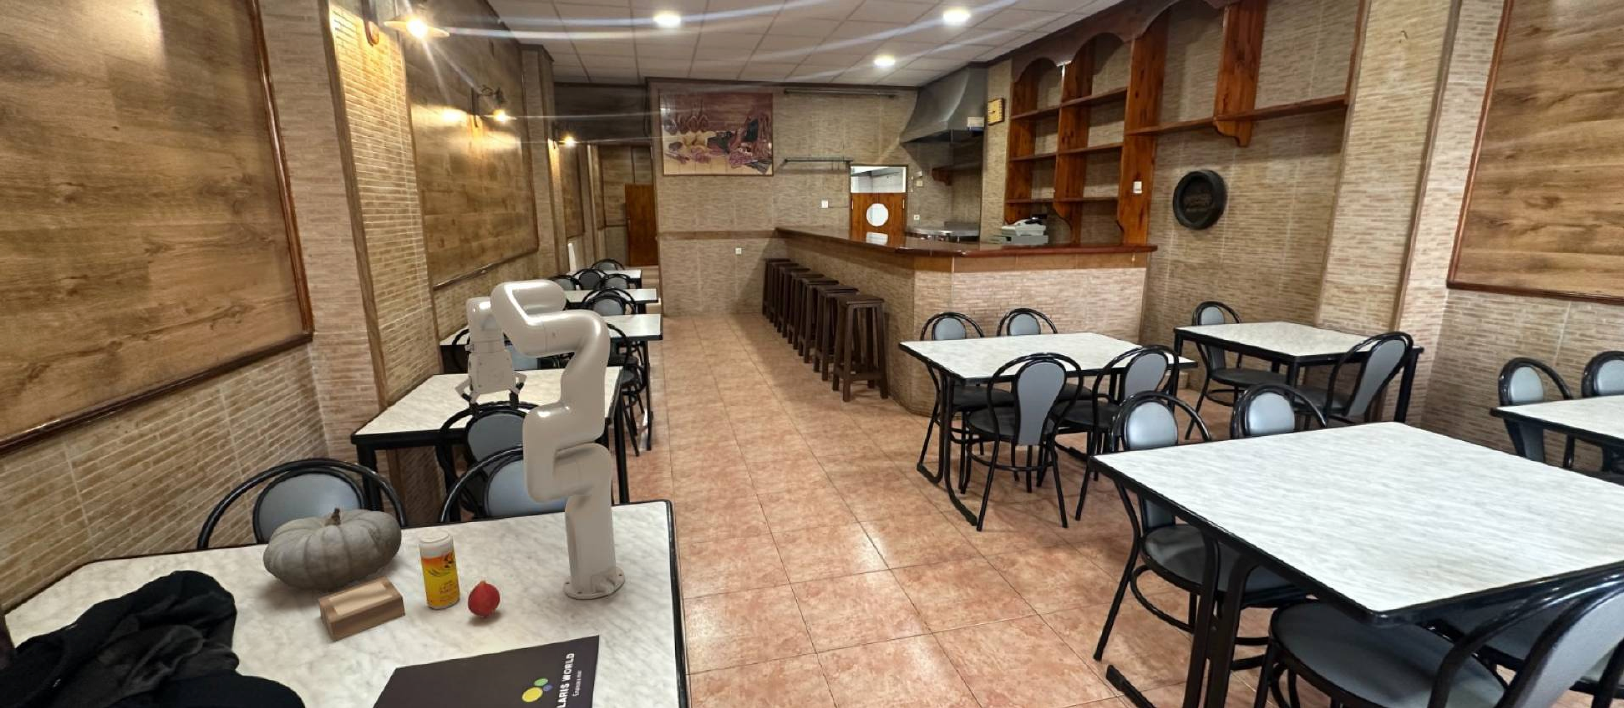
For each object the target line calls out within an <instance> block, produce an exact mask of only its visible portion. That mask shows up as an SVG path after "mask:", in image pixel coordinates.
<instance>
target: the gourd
mask: <svg viewBox="0 0 1624 708" xmlns="http://www.w3.org/2000/svg"><path fill="white" fill-rule="evenodd" d="M402 537H403V536H402V529H401V526H400V524H399V522H398V520H397V519H396V518H395V517H394V516H393V515H391V514H389V513H387V512H383V511H379V510H378V511H376V510H373V511H372V510H368V509H361V508H359V509H358V508H356V509H343V510H341V508H340V507H339V506H335V508H334V510H333V512H330V513H328V514H325V515H323V516H318V517H316V516H312V517H311V516H310V517H304V518H297V519H292V520H290V521H287V522H286V523H284V524H282V525H281V526H278V527H277V528H276V529H275V530H274V532H273V533H272V534H271V536H270V538H269V541H268V544H267V546H266V547H265V548H264V551H263V555H262V560H263V561H262V562H263V566H264V568H265V570H266V571H267V572H268V574H271V575H272V576H274V578H276V579H277V580H279V581H280V582H281V583H282V584H283V585H285V586H287V587H290V588H293V589H296V590H302V591H311V590H312V591H314V592H332V591H333V592H334V591H336V590H338V589H344V588H345V587H347V586H349V584H353V583H356V582H360V581H362V580H364V579H366V578H368V577H370V576H371V575H373V574H375V573H377V572H378V571H379V570H381V569H383V568H385V567H386V566H387V565H389V563H390V562H391V561H393V559H394V558H395V557H396V555H397V554H398V552H399V550H400V548H401V545H402V541H403V540H402Z"/></svg>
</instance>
